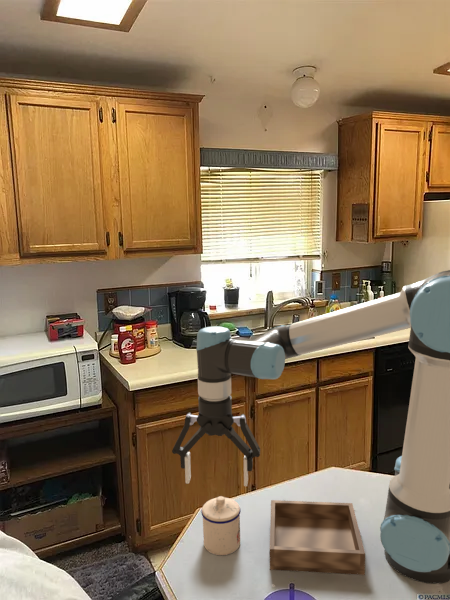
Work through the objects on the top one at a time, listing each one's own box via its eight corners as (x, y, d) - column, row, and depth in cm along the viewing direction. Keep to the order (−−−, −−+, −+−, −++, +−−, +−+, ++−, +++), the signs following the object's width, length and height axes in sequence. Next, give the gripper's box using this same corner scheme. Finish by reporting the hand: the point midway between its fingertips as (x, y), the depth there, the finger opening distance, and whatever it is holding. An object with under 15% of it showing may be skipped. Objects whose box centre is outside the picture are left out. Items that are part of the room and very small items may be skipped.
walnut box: (352, 521, 117) (352, 503, 116) (364, 574, 99) (365, 553, 99) (271, 518, 119) (271, 500, 119) (270, 569, 102) (269, 549, 101)
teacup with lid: (247, 551, 108) (245, 504, 106) (209, 561, 105) (207, 513, 103) (229, 520, 119) (228, 478, 117) (195, 528, 116) (193, 485, 114)
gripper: (270, 390, 108) (270, 475, 112) (164, 388, 111) (168, 470, 115) (270, 403, 101) (270, 493, 105) (156, 400, 104) (160, 488, 107)
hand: (216, 481), depth 110 cm, fingers open, 13 cm apart
